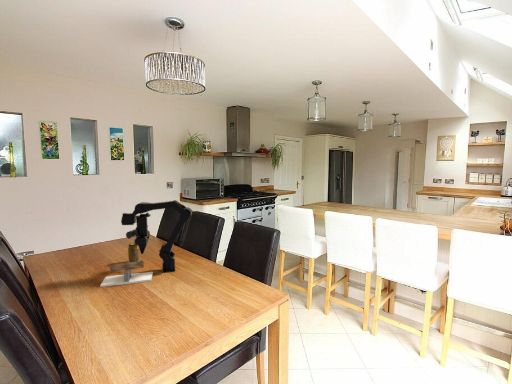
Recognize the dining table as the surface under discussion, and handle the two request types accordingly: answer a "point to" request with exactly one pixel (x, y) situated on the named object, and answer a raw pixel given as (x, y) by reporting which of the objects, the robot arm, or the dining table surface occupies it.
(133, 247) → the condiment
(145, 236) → the robot arm
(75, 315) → the dining table surface
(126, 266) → the walnut bar
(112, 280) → the balance stand
